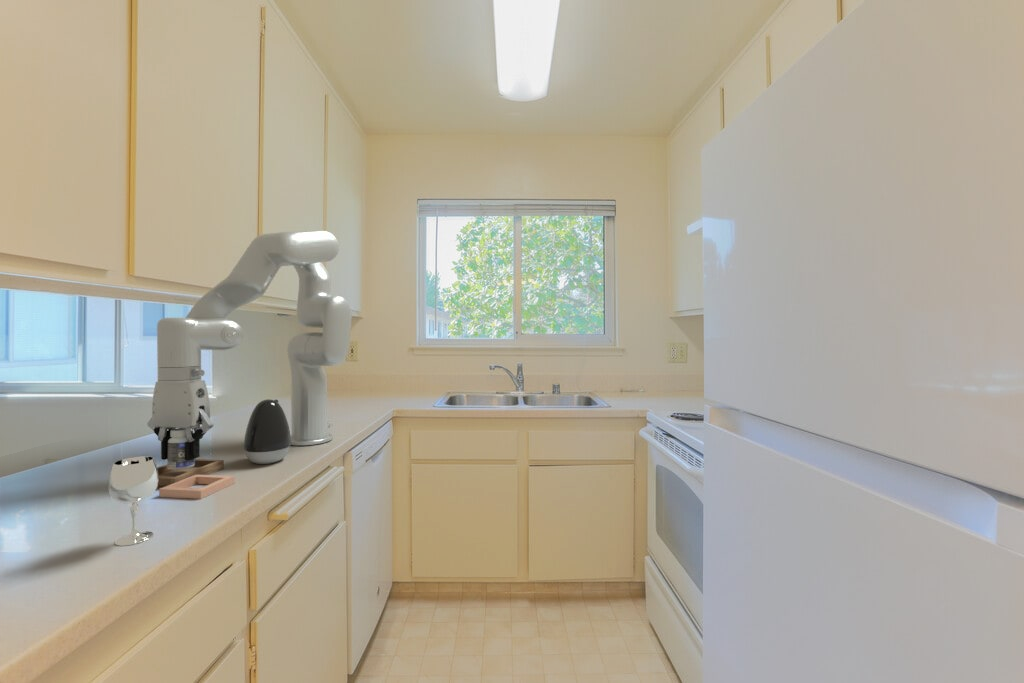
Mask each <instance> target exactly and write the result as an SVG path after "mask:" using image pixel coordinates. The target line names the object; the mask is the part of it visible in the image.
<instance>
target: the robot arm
mask: <svg viewBox="0 0 1024 683" xmlns="http://www.w3.org/2000/svg"><path fill="white" fill-rule="evenodd" d="M339 251H340V244H339V241H338V239H337V238H336V236H335V235H334V234H333V233H332V232H330V231H328V230H322V229H321V230H309V231H306V230H305V231H282V232H271V233H270V232H269V233H263V234H259V235H258V236H256V237H255V238H254V239H253V240H252V241H251V243H250V244H249V246H248V247H247V248H246V249H245V251H244V253H242V256H241V257H240V258H239V260H238V262H237V263H236V265H235V266H234V267H233V269H232V270H231V272H230V273H229V275H228V276H227V277H225V278H224V279H222V280H221V281H220V282H219V283H218V284H216V285H215V286H214V287H213V288H211V289H209V291H207V292H206V293H205V294H204V295H203V296H202V297H200V298H199V300H198V301H196V303H195V304H194V305H193V306H192V308H191V309H190V311H189V312H188V313H187V315H186V317H163V318H161V319H159V320H158V322H157V325H156V346H157V347H156V352H157V353H156V356H157V381H156V382H155V384H154V388H153V389H154V390H153V395H152V405H151V417H150V419H149V421H148V422H147V423H146V424H147V427H148V428H150V429H151V431H153V433H154V434H155V435H156V436H157V440H158V441H159V442H160V453H161V454H160V455H161V456H160V460H168V440H169V439H170V438H172V437H170V431H171V430H172V429H177V428H185V432H186V436H187V440H188V442H185V460H186V461H189V460H192V459H199V457H200V454H201V452H200V445H201V444H200V443H201V442H200V440H201V439H203V437H204V435H206V433H207V432H208V431H209V430H211V429H212V428H214V423H213V422H212V420H211V408H210V407H211V406H210V398H209V391H208V387H207V384H206V381H205V380H202V377H204V376H205V370H204V369H202V350H203V351H204V350H205V351H207V350H208V351H228V350H232V349H233V348H236V347H237V346H239V345H240V343H242V341H243V338H244V330H243V328H242V327H241V325H240V324H239V323H238V322H236V321H234V320H233V319H230V318H227V317H228V316H229V315H230V314H231V313H232V312H234V311H236V310H237V309H239V308H240V307H243V306H244V305H247V304H250V303H252V302H254V301H255V300H258V299H260V298H261V297H263V295H264V294H265V293H266V291H267V289H268V288H269V286H270V284H271V283H272V281H273V279H274V278H275V276H276V275H277V273H278V272H279V270H280V268H282V267H287V266H288V267H289V266H292V267H294V269H295V271H296V273H297V276H298V291H297V292H298V294H297V303H296V319H297V321H298V323H299V324H300V325H301V326H302V327H305V328H311V329H320V328H321V329H322V332H320V331H317V332H315V331H308V332H307V331H306V332H301V333H298V334H295V335H294V336H292V337H291V338H290V340H289V341H288V344H287V350H286V351H287V357H288V361H289V365H290V366H289V367H290V368H289V369H290V377H291V380H290V381H291V382H290V383H291V384H290V385H291V387H290V388H291V389H290V392H291V393H290V394H291V395H290V398H291V399H290V401H291V402H290V403H291V404H290V405H291V407H290V408H291V412H290V414H291V415H290V420H291V422H290V425H291V428H290V435H291V445H290V446H314V445H319V444H325V443H328V442H330V441H332V440H333V438H334V437H333V436H334V435H333V433H331V432H328V429H330V428H332V427H333V422H332V421H328V377H327V374H326V370H325V369H324V367H336V366H339V365H342V364H343V363H344V362H345V361H346V359H347V357H348V355H349V351H350V343H351V341H350V340H351V329H352V318H353V317H352V316H353V315H352V314H353V313H352V309H351V306H350V303H349V302H348V300H346V298H345V297H343V296H341V295H337V294H331V283H332V282H331V277H330V274H329V271H328V270H327V268H326V266H325V265H324V264H323V263H325V262H326V263H327V262H330V261H332V260H334V259H335V258H336V257H337V255H338V253H339ZM192 429H193V431H192Z"/></svg>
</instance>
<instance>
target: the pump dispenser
mask: <svg viewBox="0 0 1024 683" xmlns="http://www.w3.org/2000/svg"><path fill="white" fill-rule="evenodd" d="M291 446H292V445H291V429H290V426H289V423H288V420H287V417H286V414H285V411H284V409H283V408H282V406H281V404H280V403H279V400H278V399H264V400H261V401H259V402H258V403H257V404H256V405H255V407H254V408H253V410H252V412H251V414H250V416H249V420H248V422H247V425H246V430H245V434H244V440H243V451H245V455H246V457H247V458H248V460H249V461H251V462H252V463H254V464H258V465H267V464H268V465H269V464H273V463H277V462H279V461H281V460H283V459H284V458H286V456H287V454H288V452H289V450H290V447H291Z"/></svg>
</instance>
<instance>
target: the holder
mask: <svg viewBox="0 0 1024 683" xmlns="http://www.w3.org/2000/svg"><path fill="white" fill-rule="evenodd" d="M233 484H235V476H234V475H214V474H210V475H193V476H191V477H188V478H186V479H183V480H181V481H178V482H176V483H173V484H171V485H168V486H166V487H163V488H158V497H159V498H174V499H175V498H178V499H197V500H198V499H199V500H201V499H204V498H205V497H208V496H210V495H213V494H214V493H216V492H218V491H219V492H220V491H221V490H223V489H225V488H228V487H229V486H231V485H233ZM194 485H205V486H203V487H201V488H199V487H198V488H197V487H194V488H193V487H192V486H194ZM187 487H188V488H187Z"/></svg>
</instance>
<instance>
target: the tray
mask: <svg viewBox="0 0 1024 683" xmlns="http://www.w3.org/2000/svg"><path fill="white" fill-rule="evenodd" d="M224 469H225V460H224V459H206V458H205V459H204V458H203V459H202V458H195V465H194V466H193V467H191V468H187V469H183V470H169V469H168V468H167V463H166V464H163V465H161V466H157V470H158V475H159V481H158V486H157V489H161V488H163V487H166V486H168V485H171V484H173V483H176V482H178V481H181V480H183V479H186V478H188V477H191V476H193V475H213V474H214V473H216V472H219V471H221V470H224Z"/></svg>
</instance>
